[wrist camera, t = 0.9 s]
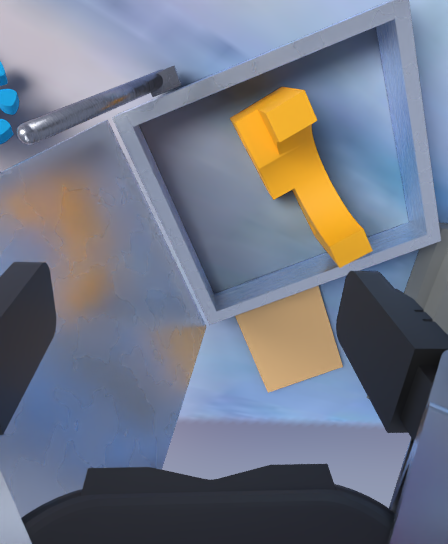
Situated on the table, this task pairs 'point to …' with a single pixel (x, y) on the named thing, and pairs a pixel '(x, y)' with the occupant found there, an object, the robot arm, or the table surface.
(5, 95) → the gear
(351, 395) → the table surface
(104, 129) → the lid
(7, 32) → the table surface
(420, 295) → the grey bevelled block
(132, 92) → the rod
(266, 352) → the tan rectangular plate
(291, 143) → the yellow curved stepped piece
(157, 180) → the case
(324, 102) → the table surface
